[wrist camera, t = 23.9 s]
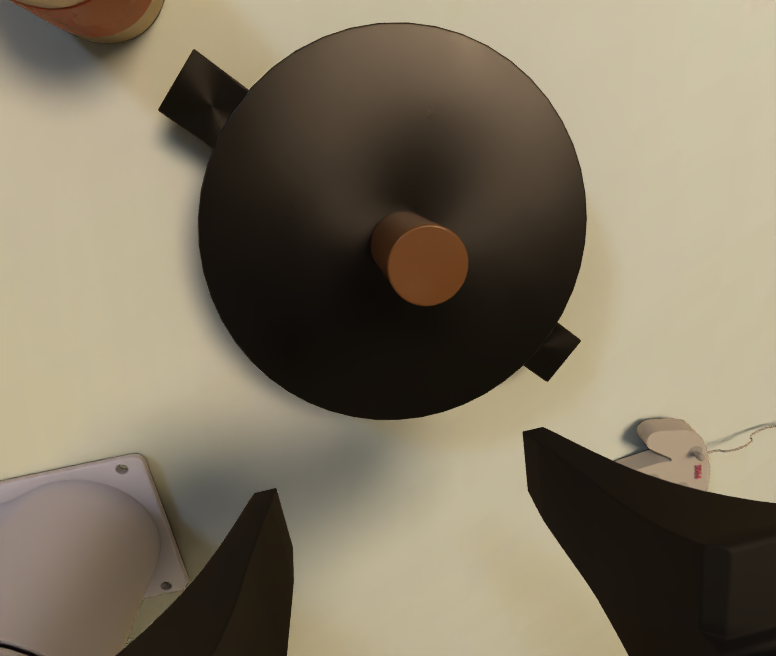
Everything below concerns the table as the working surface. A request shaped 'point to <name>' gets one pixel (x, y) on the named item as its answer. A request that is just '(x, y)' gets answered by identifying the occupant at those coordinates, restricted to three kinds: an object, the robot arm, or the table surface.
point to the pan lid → (392, 221)
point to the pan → (209, 115)
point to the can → (97, 17)
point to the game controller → (674, 453)
